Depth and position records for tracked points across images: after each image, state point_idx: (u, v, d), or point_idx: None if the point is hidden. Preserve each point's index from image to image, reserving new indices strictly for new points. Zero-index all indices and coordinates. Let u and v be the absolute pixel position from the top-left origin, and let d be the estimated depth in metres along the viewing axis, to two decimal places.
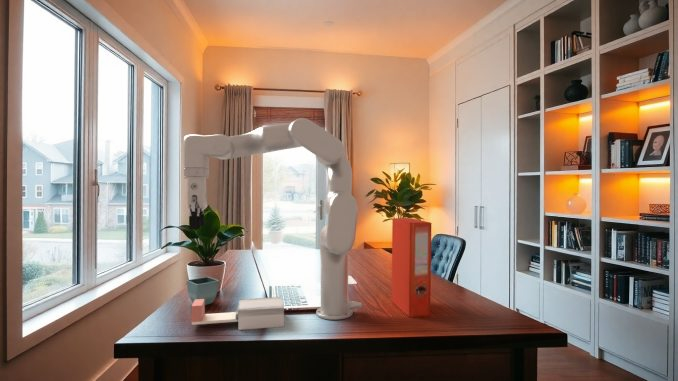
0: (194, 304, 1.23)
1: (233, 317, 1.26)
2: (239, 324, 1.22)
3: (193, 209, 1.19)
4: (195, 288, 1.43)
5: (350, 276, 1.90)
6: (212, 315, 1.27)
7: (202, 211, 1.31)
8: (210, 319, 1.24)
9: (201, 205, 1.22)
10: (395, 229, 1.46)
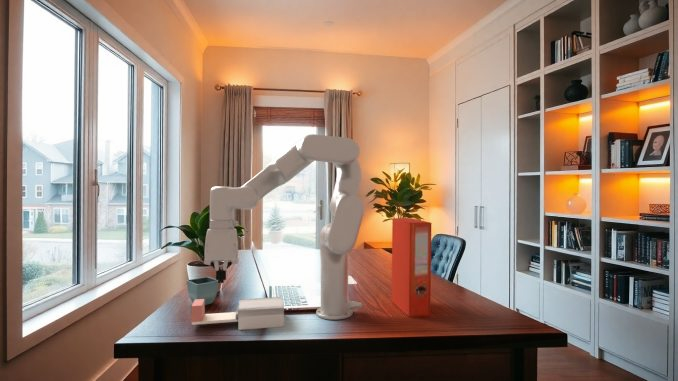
0: (194, 304, 1.23)
1: (233, 317, 1.26)
2: (239, 324, 1.22)
3: None
4: (195, 288, 1.43)
5: (350, 276, 1.90)
6: (212, 315, 1.27)
7: None
8: (210, 319, 1.24)
9: (237, 254, 1.29)
10: (395, 229, 1.46)
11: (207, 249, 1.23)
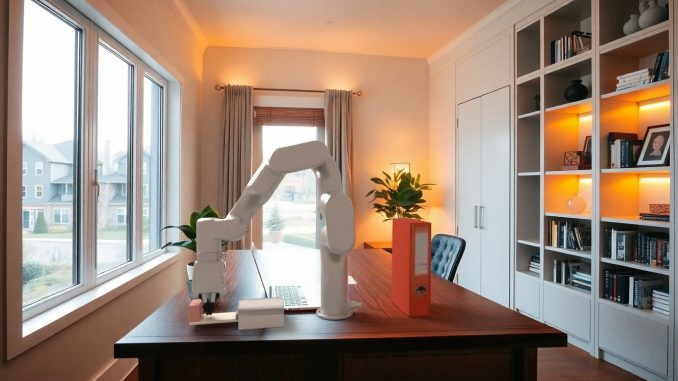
0: (192, 304, 1.23)
1: (231, 317, 1.26)
2: (239, 324, 1.22)
3: None
4: None
5: (350, 276, 1.90)
6: (210, 315, 1.27)
7: (207, 296, 1.27)
8: (208, 319, 1.23)
9: (225, 284, 1.29)
10: (395, 229, 1.46)
11: (194, 282, 1.22)
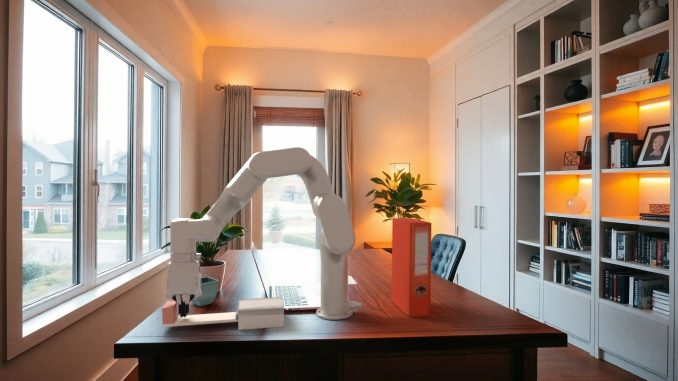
0: (165, 306, 1.21)
1: (206, 318, 1.24)
2: (239, 324, 1.22)
3: None
4: None
5: (350, 276, 1.90)
6: (185, 317, 1.26)
7: None
8: (182, 321, 1.22)
9: None
10: (395, 229, 1.46)
11: (168, 283, 1.21)
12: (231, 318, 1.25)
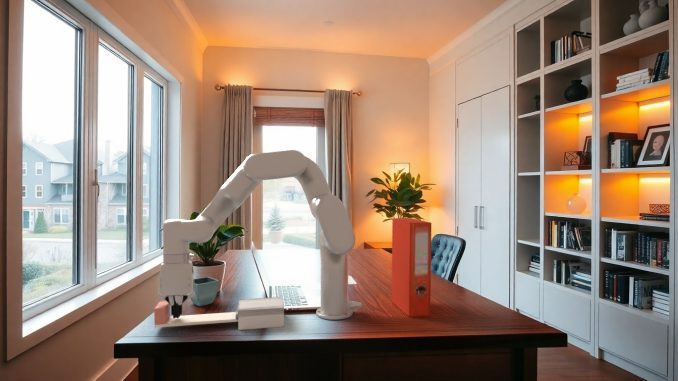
0: (157, 306, 1.20)
1: (198, 319, 1.24)
2: (239, 324, 1.22)
3: None
4: (195, 288, 1.43)
5: (350, 276, 1.90)
6: None
7: None
8: (174, 322, 1.21)
9: (194, 286, 1.26)
10: (395, 229, 1.46)
11: (161, 284, 1.20)
12: (224, 319, 1.24)
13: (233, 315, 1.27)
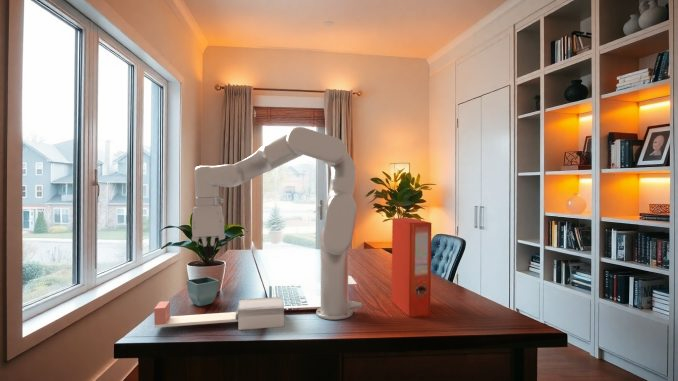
0: (157, 306, 1.20)
1: (198, 319, 1.24)
2: (239, 324, 1.22)
3: None
4: (195, 288, 1.43)
5: (350, 276, 1.90)
6: (177, 317, 1.25)
7: (206, 241, 1.33)
8: (174, 322, 1.21)
9: None
10: (395, 229, 1.46)
11: (194, 226, 1.28)
12: (224, 319, 1.24)
13: (233, 315, 1.27)
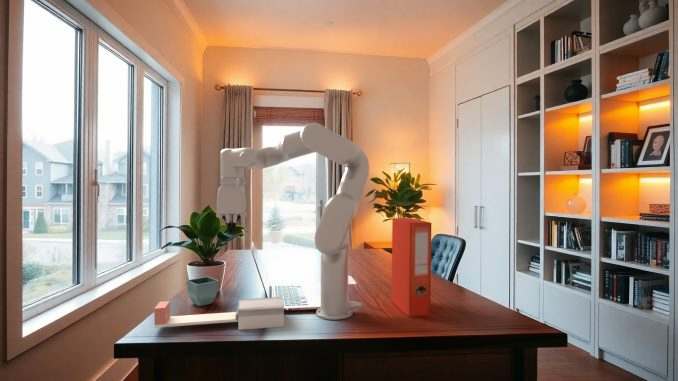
0: (157, 306, 1.20)
1: (198, 319, 1.24)
2: (239, 324, 1.22)
3: None
4: (195, 288, 1.43)
5: (350, 276, 1.89)
6: (177, 317, 1.25)
7: (229, 218, 1.44)
8: (174, 322, 1.21)
9: None
10: (395, 229, 1.46)
11: (219, 203, 1.40)
12: (224, 319, 1.24)
13: (233, 315, 1.27)
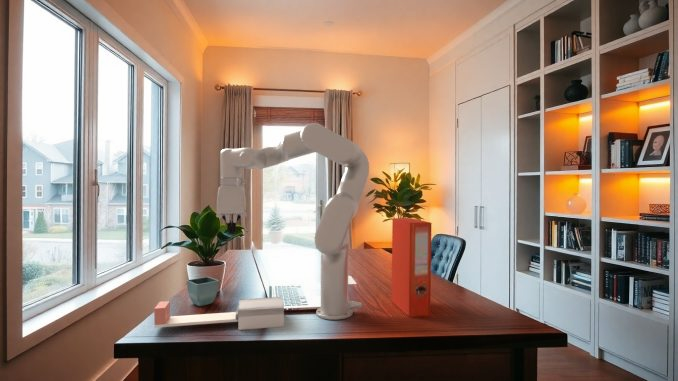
0: (157, 306, 1.20)
1: (198, 319, 1.24)
2: (239, 324, 1.22)
3: None
4: (195, 288, 1.43)
5: (350, 276, 1.89)
6: (177, 317, 1.25)
7: (229, 218, 1.44)
8: (174, 322, 1.21)
9: None
10: (395, 229, 1.46)
11: (219, 203, 1.40)
12: (224, 319, 1.24)
13: (233, 315, 1.27)
